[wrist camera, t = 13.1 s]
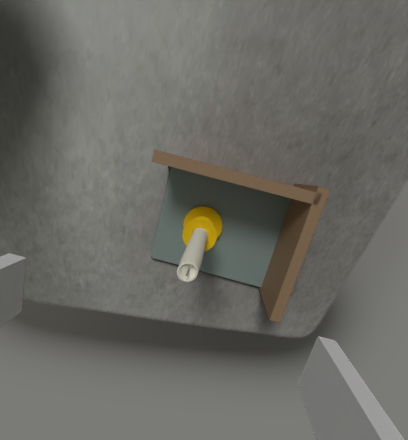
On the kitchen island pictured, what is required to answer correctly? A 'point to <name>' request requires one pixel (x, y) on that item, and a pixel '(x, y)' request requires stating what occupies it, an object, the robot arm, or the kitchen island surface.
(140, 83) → the kitchen island surface
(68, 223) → the kitchen island surface
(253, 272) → the open room model
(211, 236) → the candle
